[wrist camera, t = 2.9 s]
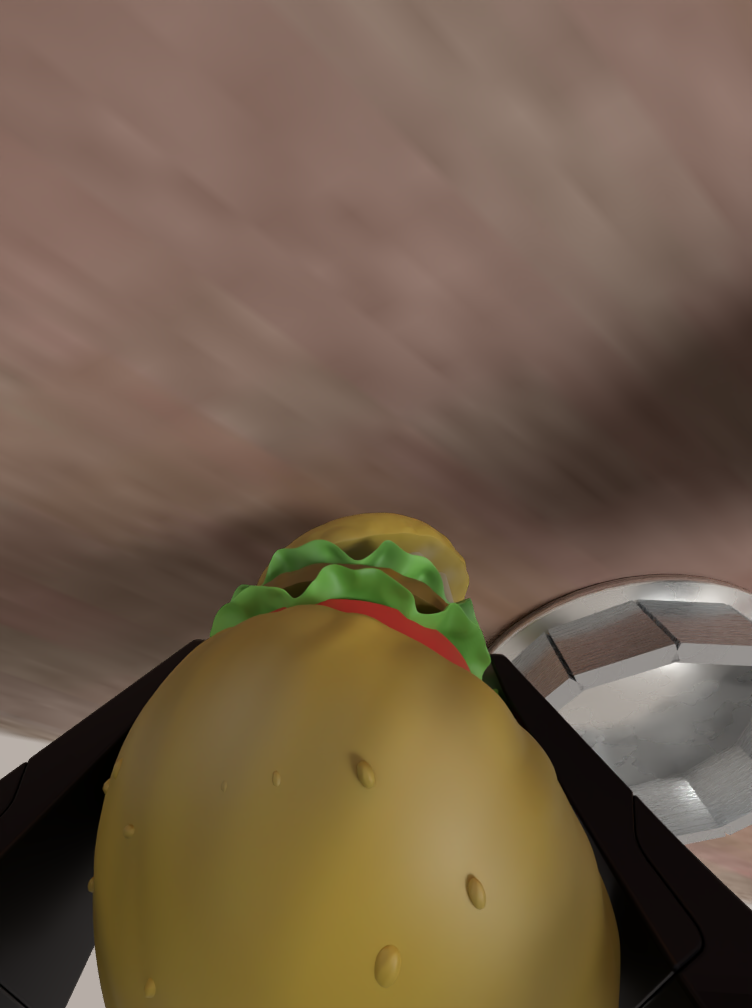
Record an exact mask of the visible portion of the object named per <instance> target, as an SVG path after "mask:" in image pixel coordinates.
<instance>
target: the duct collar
mask: <svg viewBox="0 0 752 1008" xmlns="http://www.w3.org/2000/svg"><path fill="white" fill-rule="evenodd" d="M488 652H489V653H492V654H503V655H504V656H506V657H507V658H508V659H509V660H510V661H511V663H512V664H513V665H514V666H515V667H516V668H517V669H518V670H519V671H520V672H521V673H522V674H523V675H524V676H525V677H526V678H527V680H528V681H529V682H530V683H531V684H532V685H533V686H534V687H535V688H536V689H537V690H538V691H539V692H540V693H541V694H542V696H543V697H544V698H545V699H546V700H547V701H548V702H549V703H550V704H551V705H552V706H553V707H554V708H555V709H556V710H557V711H558V713H559V714H560V715H561V716H562V717H563V718H564V719H565V720H566V721H567V722H568V723H569V724H570V725H571V726H572V727H573V728H574V730H575V731H576V732H577V733H578V734H579V735H580V736H581V737H582V738H583V739H584V740H585V741H586V742H587V743H588V744H589V746H590V747H591V748H592V749H593V750H594V751H595V752H596V753H597V754H598V755H599V756H600V757H601V758H602V759H603V760H604V761H605V763H606V764H607V765H608V766H609V767H610V768H611V769H612V770H613V771H614V772H615V773H616V774H617V775H618V776H619V777H620V779H621V780H622V781H623V782H624V783H625V784H626V785H627V786H628V787H629V788H630V789H631V790H632V792H633V795H636V796H638V797H639V799H640V800H641V801H642V802H643V803H644V804H645V805H646V806H647V807H648V808H649V809H650V810H651V811H652V812H653V813H654V814H655V816H656V817H657V818H658V819H659V820H660V821H661V822H662V823H663V824H664V825H665V826H666V827H667V828H668V829H669V830H670V831H671V832H672V833H673V834H674V835H675V836H676V837H677V838H678V839H679V840H680V841H681V842H682V843H683V844H689V843H694V842H699V841H704V840H709V839H715V838H720V837H725V833H727V834H729V835H731V834H733V833H735V832H737V831H739V830H741V829H743V828H745V827H747V826H749V825H751V824H752V592H750V591H748V590H746V589H744V588H741V587H738V586H736V585H733V584H730V583H728V582H724V581H720V580H715V579H711V578H706V577H700V576H690V575H680V574H671V575H646V576H637V577H628V578H623V579H618V580H614V581H609V582H604V583H600V584H597V585H594V586H590V587H587V588H584V589H581V590H578V591H575V592H573V593H570V594H568V595H565V596H563V597H561V598H558V599H556V600H554V601H552V602H550V603H548V604H546V605H544V606H542V607H541V608H539V609H537V610H535V611H533V612H531V613H530V614H528V615H527V616H525V617H524V618H523V619H521V620H520V621H518V622H517V623H515V624H514V625H512V626H511V627H510V628H509V629H508V630H507V631H505V632H504V633H503V634H502V635H501V636H500V637H499V638H497V639H496V640H495V641H494V643H493V644H492V645H491V646H490V647H489V648H488Z"/></svg>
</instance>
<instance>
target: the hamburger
mask: <svg viewBox="0 0 752 1008" xmlns="http://www.w3.org/2000/svg"><path fill="white" fill-rule="evenodd" d="M468 585H469V576H468V573H467V571H466V564H465V560H464V558H463V557H462V556H461V555H460V554H459V553H458V552H457V551H456V550H455V548H454V547H453V546H452V544H451V542H450V541H449V540H448V538H447V537H445V536H444V535H442V534H441V533H440V532H438V531H437V530H435V529H434V528H432V527H431V526H429V525H428V524H426V523H424V522H422V521H420V520H417V519H414V518H410V517H407V516H404V515H400V514H394V513H364V514H358V515H352V516H347V517H342V518H339V519H335V520H333V521H330V522H328V523H325V524H323V525H320V526H318V527H316V528H314V529H312V530H310V531H308V532H306V533H304V534H303V535H301V536H300V537H298V538H297V539H296V540H294V541H293V542H292V543H291V544H289V545H288V546H287V547H285V548H284V549H279V550H277V551H276V552H275V553H274V555H273V557H272V559H271V561H270V564H269V565H268V566H267V567H266V569H265V570H264V572H263V573H262V575H261V577H260V579H259V581H258V583H257V585H256V586H251V585H240V586H239V587H238V588H237V589H236V590H235V592H234V594H233V597H232V599H231V602H230V603H227V604H225V605H224V606H222V607H221V608H220V610H219V611H218V612H217V614H216V616H215V618H214V622H213V626H212V629H211V632H210V638H209V639H207V640H205V641H204V642H203V643H201V644H200V645H198V646H197V647H196V648H195V649H194V650H193V651H192V652H190V653H189V654H188V655H187V656H186V657H185V658H184V659H183V660H182V661H181V662H180V663H179V664H178V665H177V666H176V668H175V669H174V670H173V671H172V672H171V673H170V674H169V675H168V677H167V678H166V679H165V680H164V681H163V683H162V684H161V685H160V686H159V688H158V689H157V690H156V692H155V693H154V694H153V696H152V697H151V698H150V700H149V701H148V702H147V704H146V705H145V706H144V708H143V709H142V711H141V712H140V714H139V715H138V717H137V719H136V720H135V722H134V724H133V726H132V727H131V729H130V731H129V733H128V735H127V737H126V739H125V741H124V743H123V745H122V748H121V750H120V752H119V755H118V757H117V760H116V762H115V765H114V768H113V771H112V774H111V777H110V779H108V780H107V781H106V782H105V783H104V787H103V791H104V793H105V794H106V795H105V798H104V803H103V807H102V812H101V816H100V821H99V826H98V832H97V838H96V845H95V855H94V876H93V877H92V878H91V879H90V880H89V882H88V891H89V892H93V929H94V942H95V951H96V960H97V966H98V973H99V978H100V984H101V989H102V994H103V998H104V1003H105V1007H106V1008H619V991H620V939H619V933H618V927H617V923H616V919H615V915H614V912H613V908H612V905H611V901H610V898H609V895H608V893H607V890H606V887H605V885H604V882H603V880H602V878H601V875H600V873H599V871H598V867H597V863H596V859H595V856H594V852H593V849H592V847H591V844H590V842H589V840H588V837H587V835H586V833H585V831H584V829H583V828H582V826H581V824H580V822H579V820H578V818H577V817H576V815H575V813H574V811H573V809H572V807H571V805H570V803H569V801H568V799H567V797H566V795H565V793H564V792H563V790H562V788H561V786H560V784H559V782H558V780H557V776H556V773H555V770H554V767H553V765H552V763H551V761H550V759H549V757H548V756H547V754H546V753H545V751H544V750H543V749H542V747H541V746H540V745H539V743H538V742H537V741H536V740H535V739H534V738H533V737H532V736H531V735H530V734H529V733H528V732H527V731H526V730H525V729H524V728H522V727H521V726H520V725H519V724H518V722H517V721H516V719H515V718H514V716H513V715H512V713H511V711H510V710H509V708H508V707H507V705H506V704H505V702H504V701H503V700H502V699H501V697H500V696H499V695H498V690H497V689H491V688H490V687H489V686H488V685H487V684H486V683H484V682H483V681H482V675H483V673H484V671H485V669H486V668H487V667H488V666H489V665H490V663H491V658H490V655H489V652H488V649H487V647H486V643H485V639H484V636H483V634H482V631H481V629H480V628H479V625H478V622H477V620H476V617H475V613H474V609H473V604H472V601H471V599H470V598H468V599H465V600H464V597H465V594H466V591H467V588H468Z"/></svg>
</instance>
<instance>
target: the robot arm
mask: <svg viewBox="0 0 752 1008" xmlns="http://www.w3.org/2000/svg"><path fill="white" fill-rule="evenodd" d="M204 641H205V640H199V639H197V640H193V641H191V642H190V643H189V644H187V645H186V646H184V647H183V648H182V649H180V650H179V651H178V652H176V653H175V654H173V655H172V656H171V657H169V658H168V659H167V660H165V661H164V662H162V663H161V664H160V665H158V666H157V667H155V668H154V669H153V670H151V671H150V672H149V673H147V674H146V675H144V676H143V677H142V678H140V679H139V680H138V681H136V682H135V683H133V684H132V685H131V686H129V687H128V688H126V689H125V690H124V691H122V692H121V693H120V694H118V695H117V696H115V697H114V698H113V699H111V700H110V701H109V702H107V703H106V704H104V705H103V706H102V707H100V708H99V709H97V710H96V711H95V712H93V713H92V714H91V715H89V716H88V717H86V718H85V719H84V720H82V721H81V722H80V723H78V724H77V725H75V726H74V727H73V728H71V729H70V730H68V731H67V732H66V733H64V734H63V735H62V736H60V737H59V738H57V739H56V740H55V741H53V742H52V743H51V744H49V745H48V746H46V747H45V748H44V749H42V750H41V751H39V752H38V753H37V754H35V755H34V756H33V757H31V758H30V759H29V761H28V763H27V762H25V763H23V764H21V765H20V766H19V767H17V768H16V769H14V770H13V771H12V772H10V773H9V774H7V775H6V776H5V777H3V778H2V779H1V780H0V1008H65V1007H66V1005H67V1003H68V1001H69V999H70V997H71V995H72V993H73V990H74V988H75V986H76V984H77V982H78V980H79V978H80V975H81V973H82V971H83V969H84V967H85V965H86V962H87V961H88V958H89V956H90V954H91V952H92V950H93V948H94V946H95V942H94V929H93V892H89V891H88V882H89V880H90V879H91V878H92V877H93V876H94V855H95V845H96V838H97V832H98V826H99V821H100V816H101V812H102V807H103V803H104V798H105V795H106V794H105V793H104V791H103V787H104V783H105V782H106V781H107V780H108V779H110V777H111V774H112V771H113V768H114V765H115V762H116V760H117V757H118V755H119V752H120V750H121V748H122V745H123V743H124V741H125V739H126V737H127V735H128V733H129V731H130V729H131V727H132V726H133V724H134V722H135V720H136V719H137V717H138V715H139V714H140V712H141V711H142V709H143V708H144V706H145V705H146V704H147V702H148V701H149V700H150V698H151V697H152V696H153V694H154V693H155V692H156V690H157V689H158V688H159V686H160V685H161V684H162V683H163V681H164V680H165V679H166V678H167V677H168V675H169V674H170V673H171V672H172V671H173V670H174V669H175V668H176V666H177V665H178V664H179V663H180V662H181V661H182V660H183V659H184V658H185V657H186V656H187V655H188V654H189V653H190V652H192V651H193V650H194V649H195V648H196V647H197V646H198V645H200V644H201V643H203V642H204ZM489 655H490V658H491V663H490V665H489V666H488V667H487V668H486V669H485V671H484V673H483V675H482V681H483V682H484V683H486V684H487V685H488V686H489V687H490V688H491V689H497V690H498V695H499V696H500V697H501V699H502V700H503V701H504V702H505V704H506V705H507V707H508V708H509V710H510V711H511V713H512V715H513V716H514V718H515V719H516V721H517V722H518V724H519V725H520V726H521V727H522V728H524V729H525V730H526V731H527V732H528V733H529V734H530V735H531V736H532V737H533V738H534V739H535V740H536V741H537V742H538V743H539V745H540V746H541V747H542V749H543V750H544V751H545V753H546V754H547V756H548V757H549V759H550V761H551V763H552V765H553V767H554V770H555V773H556V776H557V780H558V782H559V784H560V786H561V788H562V790H563V792H564V793H565V795H566V797H567V799H568V801H569V803H570V805H571V807H572V809H573V811H574V813H575V815H576V817H577V818H578V820H579V822H580V824H581V826H582V828H583V829H584V831H585V833H586V835H587V837H588V840H589V842H590V844H591V847H592V849H593V852H594V856H595V859H596V863H597V867H598V871H599V873H600V875H601V878H602V880H603V882H604V885H605V887H606V890H607V893H608V895H609V898H610V901H611V905H612V908H613V912H614V915H615V919H616V923H617V927H618V933H619V939H620V991H619V1008H752V910H751V909H750V908H749V907H748V906H747V905H746V904H745V903H744V902H742V901H741V900H740V899H739V898H738V897H737V896H736V895H735V894H734V893H733V892H732V891H731V890H730V889H729V888H728V887H727V886H726V885H725V884H723V883H722V882H721V881H720V880H719V879H718V878H717V877H716V876H715V875H714V874H713V873H712V872H711V871H710V870H709V869H708V868H707V867H706V866H705V865H704V864H703V863H702V862H701V861H700V860H699V859H698V858H697V857H696V856H695V855H694V854H693V853H692V852H691V851H690V850H689V849H688V848H687V847H686V846H685V845H684V844H683V843H682V842H681V841H680V840H679V839H678V838H677V837H676V836H675V835H674V834H673V833H672V832H671V831H670V830H669V829H668V828H667V827H666V826H665V825H664V824H663V823H662V822H661V821H660V820H659V819H658V818H657V817H656V816H655V814H654V813H653V812H652V811H651V810H650V809H649V808H648V807H647V806H646V805H645V804H644V803H643V802H642V801H641V800H640V799H639V797H638V796H636V795H633V792H632V790H631V789H630V788H629V787H628V786H627V785H626V784H625V783H624V782H623V781H622V780H621V779H620V777H619V776H618V775H617V774H616V773H615V772H614V771H613V770H612V769H611V768H610V767H609V766H608V765H607V764H606V763H605V761H604V760H603V759H602V758H601V757H600V756H599V755H598V754H597V753H596V752H595V751H594V750H593V749H592V748H591V747H590V746H589V744H588V743H587V742H586V741H585V740H584V739H583V738H582V737H581V736H580V735H579V734H578V733H577V732H576V731H575V730H574V728H573V727H572V726H571V725H570V724H569V723H568V722H567V721H566V720H565V719H564V718H563V717H562V716H561V715H560V714H559V713H558V711H557V710H556V709H555V708H554V707H553V706H552V705H551V704H550V703H549V702H548V701H547V700H546V699H545V698H544V697H543V696H542V694H541V693H540V692H539V691H538V690H537V689H536V688H535V687H534V686H533V685H532V684H531V683H530V682H529V681H528V680H527V678H526V677H525V676H524V675H523V674H522V673H521V672H520V671H519V670H518V669H517V668H516V667H515V666H514V665H513V664H512V663H511V661H510V660H509V659H508V658H507V657H506V656H504V655H503V654H492V653H489Z"/></svg>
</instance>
